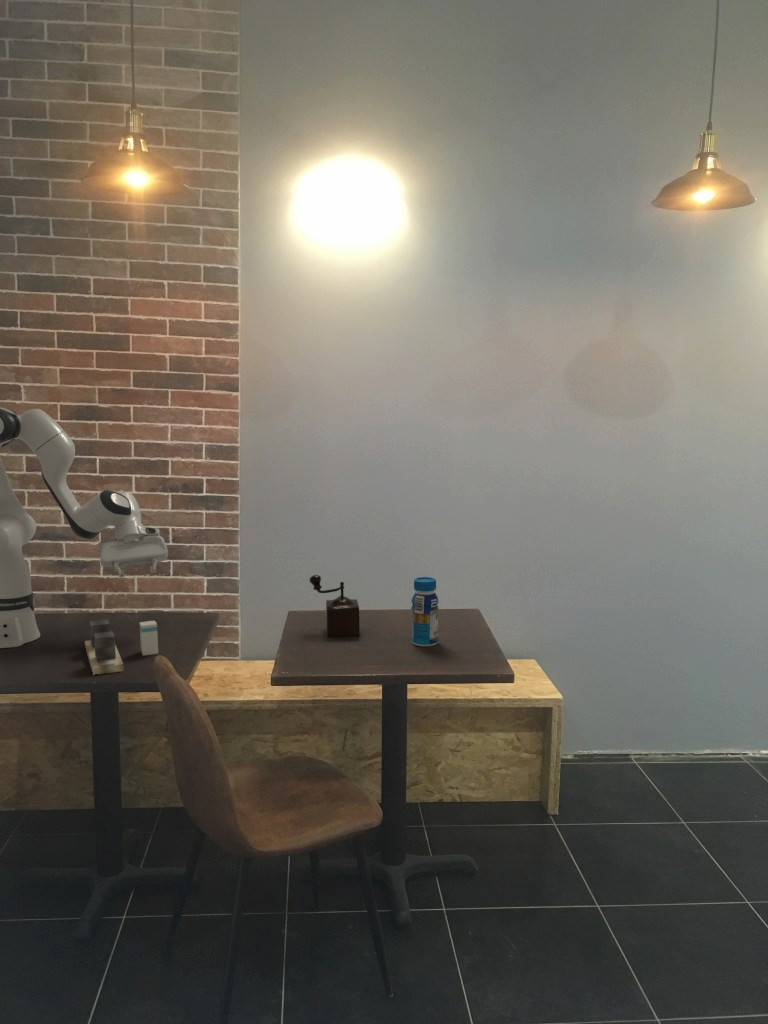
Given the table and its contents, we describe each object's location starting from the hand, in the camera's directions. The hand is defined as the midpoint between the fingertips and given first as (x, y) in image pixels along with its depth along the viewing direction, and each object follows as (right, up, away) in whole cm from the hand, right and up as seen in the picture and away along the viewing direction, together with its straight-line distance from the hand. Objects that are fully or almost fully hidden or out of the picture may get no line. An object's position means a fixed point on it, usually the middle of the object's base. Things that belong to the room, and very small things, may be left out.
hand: (137, 573), depth 253 cm
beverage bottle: (+88, -21, -1) cm, 91 cm away
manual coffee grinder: (+60, -19, +10) cm, 64 cm away
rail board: (-5, -23, -15) cm, 28 cm away
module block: (+6, -23, -10) cm, 25 cm away
